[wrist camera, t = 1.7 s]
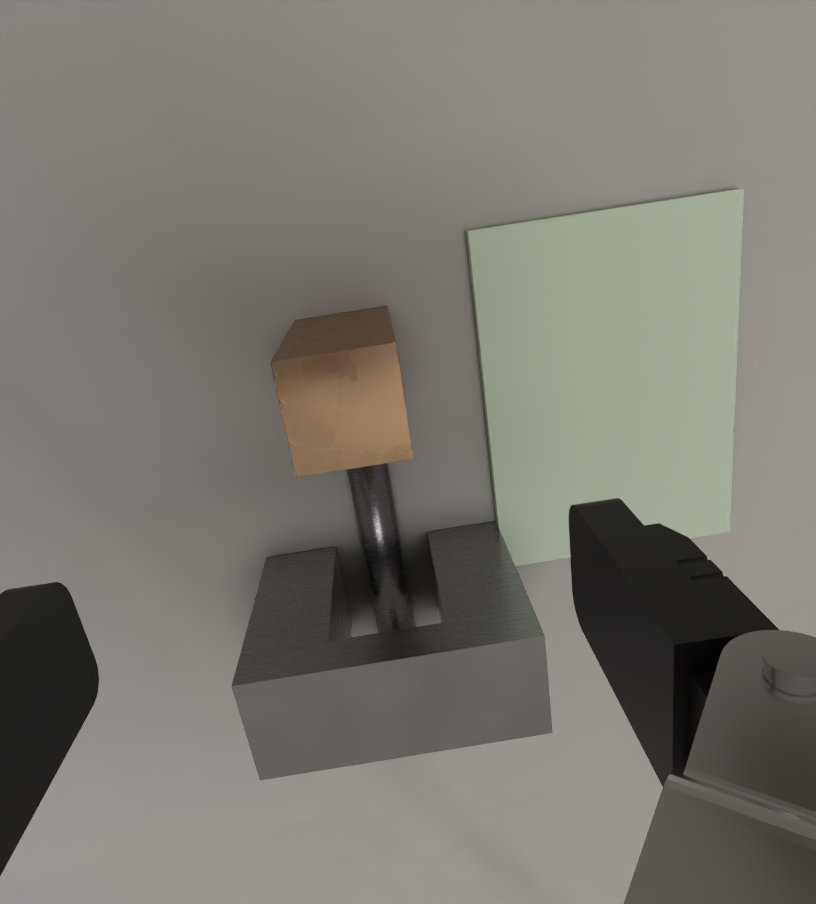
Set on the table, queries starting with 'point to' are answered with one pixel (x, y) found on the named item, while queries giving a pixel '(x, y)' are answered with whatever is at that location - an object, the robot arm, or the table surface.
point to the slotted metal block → (390, 663)
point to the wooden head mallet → (352, 432)
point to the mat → (610, 365)
